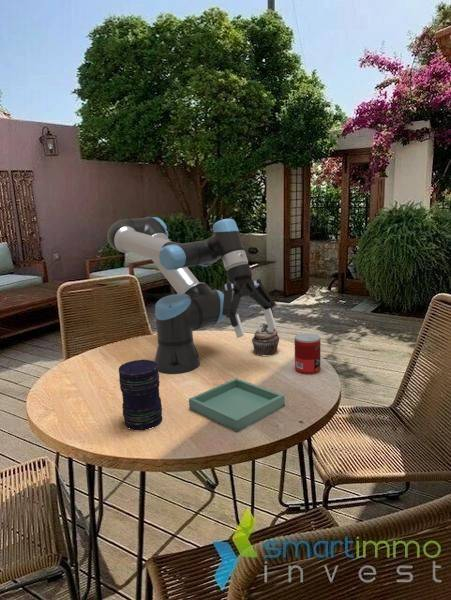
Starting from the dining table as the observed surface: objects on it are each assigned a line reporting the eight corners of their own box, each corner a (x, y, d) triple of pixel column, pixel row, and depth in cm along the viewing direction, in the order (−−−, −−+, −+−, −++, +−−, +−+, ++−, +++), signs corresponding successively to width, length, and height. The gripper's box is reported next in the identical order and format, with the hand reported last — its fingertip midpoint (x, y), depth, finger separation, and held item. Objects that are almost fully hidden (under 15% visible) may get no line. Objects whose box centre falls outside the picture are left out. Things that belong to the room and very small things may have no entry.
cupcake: (254, 347, 169) (253, 321, 166) (280, 347, 167) (280, 321, 164) (250, 356, 160) (249, 329, 157) (278, 357, 158) (277, 329, 155)
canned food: (320, 375, 141) (320, 341, 139) (294, 374, 143) (293, 340, 140) (320, 365, 149) (320, 333, 146) (295, 364, 150) (295, 332, 148)
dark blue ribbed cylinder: (141, 409, 125) (136, 357, 121) (170, 416, 120) (166, 362, 116) (115, 425, 116) (109, 370, 113) (145, 434, 111) (140, 377, 108)
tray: (189, 409, 123) (188, 398, 123) (236, 387, 135) (236, 377, 135) (237, 431, 111) (236, 420, 110) (284, 405, 123) (284, 395, 122)
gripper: (213, 265, 132) (234, 336, 128) (273, 260, 148) (293, 323, 144) (198, 274, 137) (218, 343, 134) (258, 269, 153) (277, 329, 150)
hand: (257, 333), depth 139 cm, fingers open, 13 cm apart
